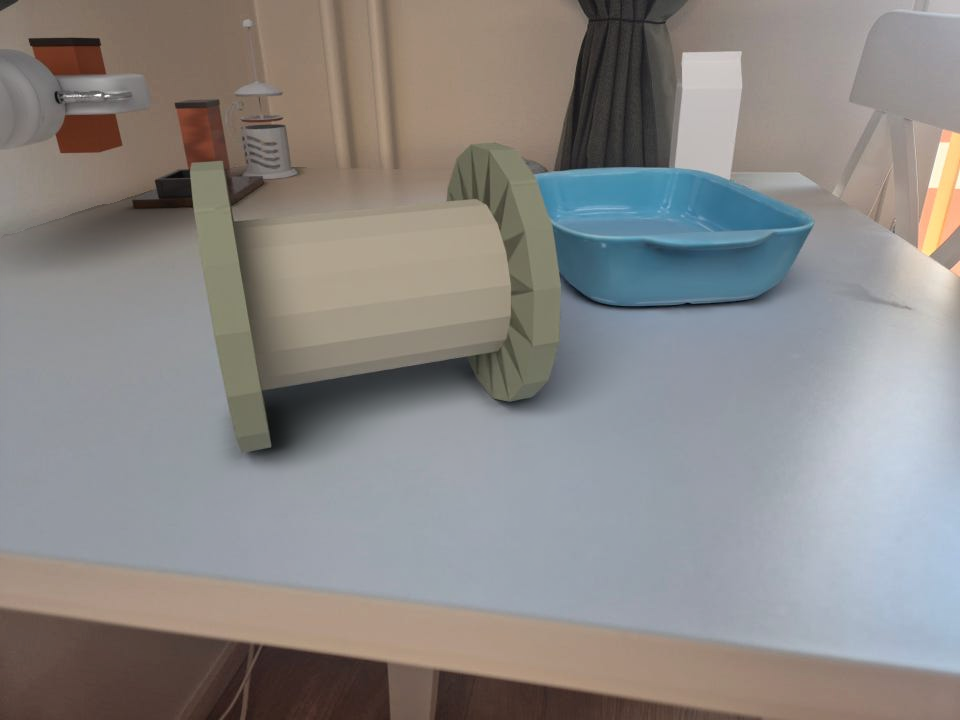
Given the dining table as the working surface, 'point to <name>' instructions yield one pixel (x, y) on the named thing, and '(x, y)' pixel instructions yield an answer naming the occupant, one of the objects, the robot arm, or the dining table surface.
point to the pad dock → (197, 158)
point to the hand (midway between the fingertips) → (81, 90)
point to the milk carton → (706, 112)
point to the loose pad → (78, 60)
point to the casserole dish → (668, 235)
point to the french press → (263, 133)
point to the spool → (382, 287)
